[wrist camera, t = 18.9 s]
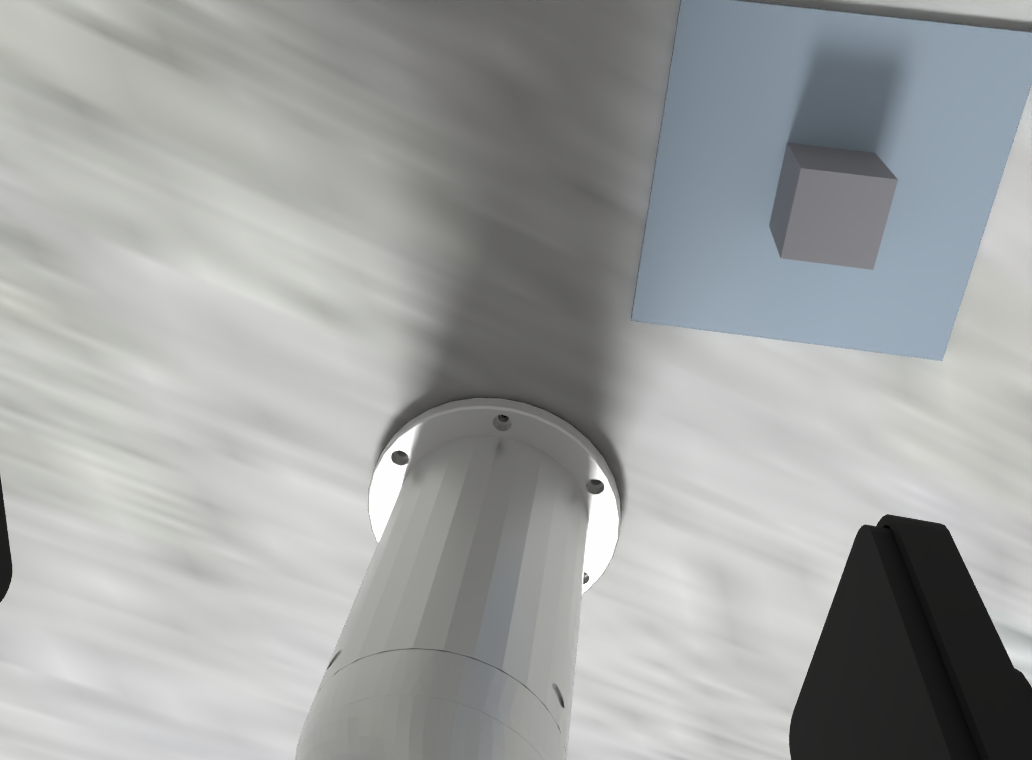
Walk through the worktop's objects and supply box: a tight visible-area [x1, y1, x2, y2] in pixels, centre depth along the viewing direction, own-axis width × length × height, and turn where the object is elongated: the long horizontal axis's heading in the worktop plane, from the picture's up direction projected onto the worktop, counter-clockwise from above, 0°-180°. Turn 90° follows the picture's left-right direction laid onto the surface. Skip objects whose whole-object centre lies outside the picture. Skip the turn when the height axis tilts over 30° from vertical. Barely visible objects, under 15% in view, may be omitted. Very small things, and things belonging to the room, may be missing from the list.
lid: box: [631, 0, 1032, 361], centre depth 39 cm, size 14×14×5 cm
